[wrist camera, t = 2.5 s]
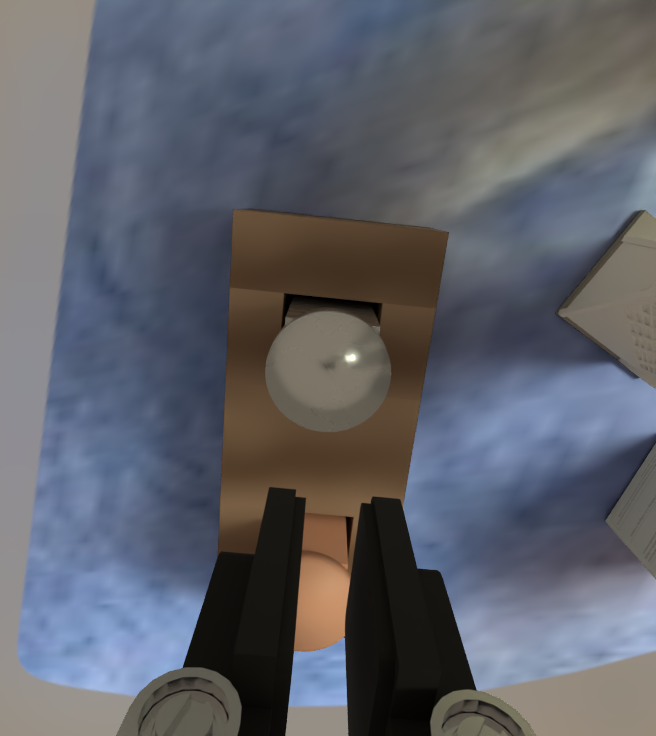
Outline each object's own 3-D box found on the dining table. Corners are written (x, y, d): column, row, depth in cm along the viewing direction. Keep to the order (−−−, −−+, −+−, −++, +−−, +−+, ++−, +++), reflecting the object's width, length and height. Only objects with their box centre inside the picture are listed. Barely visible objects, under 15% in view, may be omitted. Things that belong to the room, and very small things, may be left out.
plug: (283, 283, 26) (269, 306, 20) (383, 293, 26) (399, 319, 21) (275, 379, 28) (261, 426, 22) (371, 388, 28) (382, 437, 22)
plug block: (249, 208, 28) (233, 209, 24) (429, 227, 29) (449, 232, 24) (230, 570, 36) (214, 626, 31) (373, 582, 36) (380, 640, 31)
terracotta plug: (267, 489, 30) (252, 559, 24) (356, 497, 30) (362, 569, 24) (261, 564, 32) (246, 647, 26) (346, 571, 32) (350, 655, 26)
